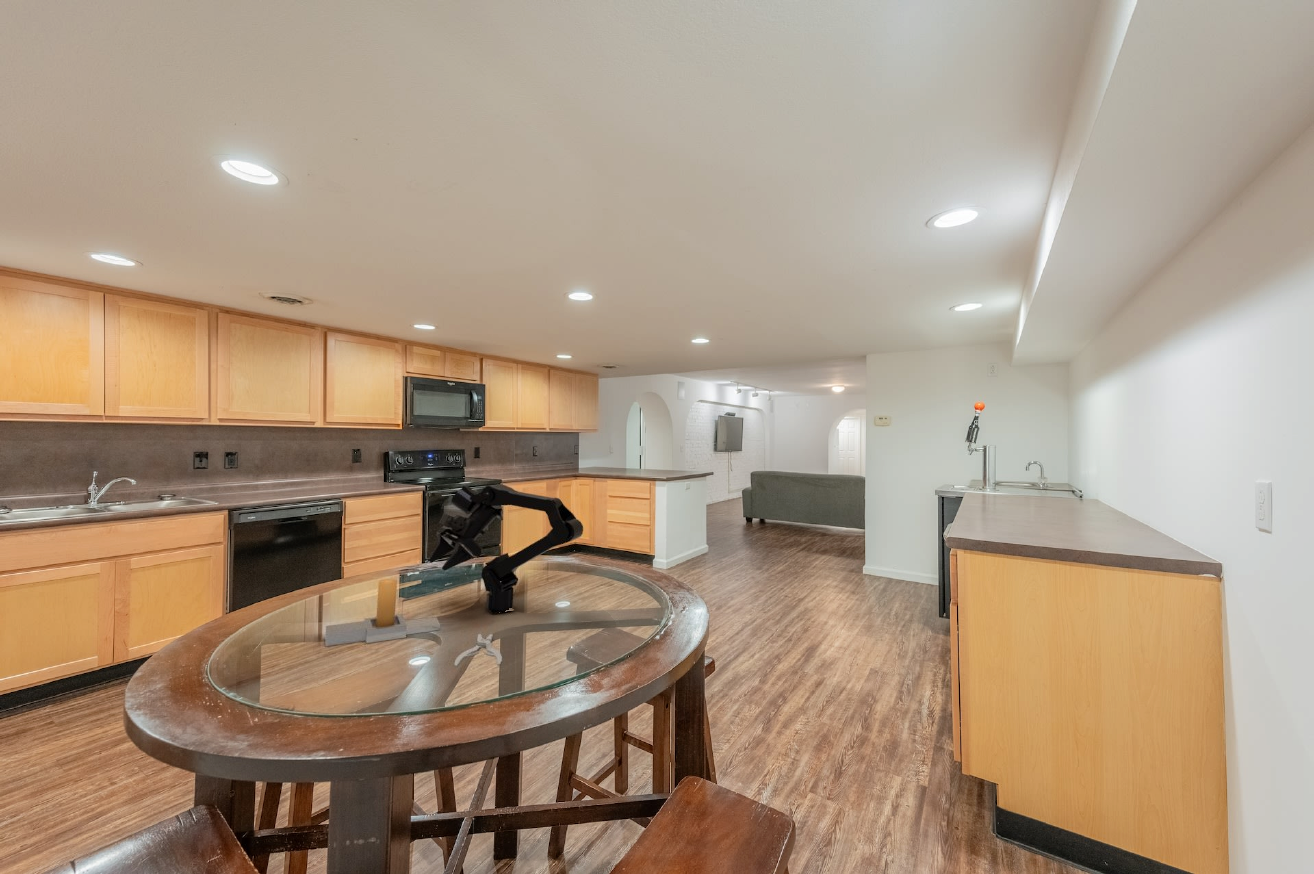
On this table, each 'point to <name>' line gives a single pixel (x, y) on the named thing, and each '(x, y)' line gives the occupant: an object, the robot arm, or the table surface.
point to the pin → (386, 602)
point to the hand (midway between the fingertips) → (436, 565)
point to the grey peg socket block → (377, 630)
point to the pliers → (481, 644)
